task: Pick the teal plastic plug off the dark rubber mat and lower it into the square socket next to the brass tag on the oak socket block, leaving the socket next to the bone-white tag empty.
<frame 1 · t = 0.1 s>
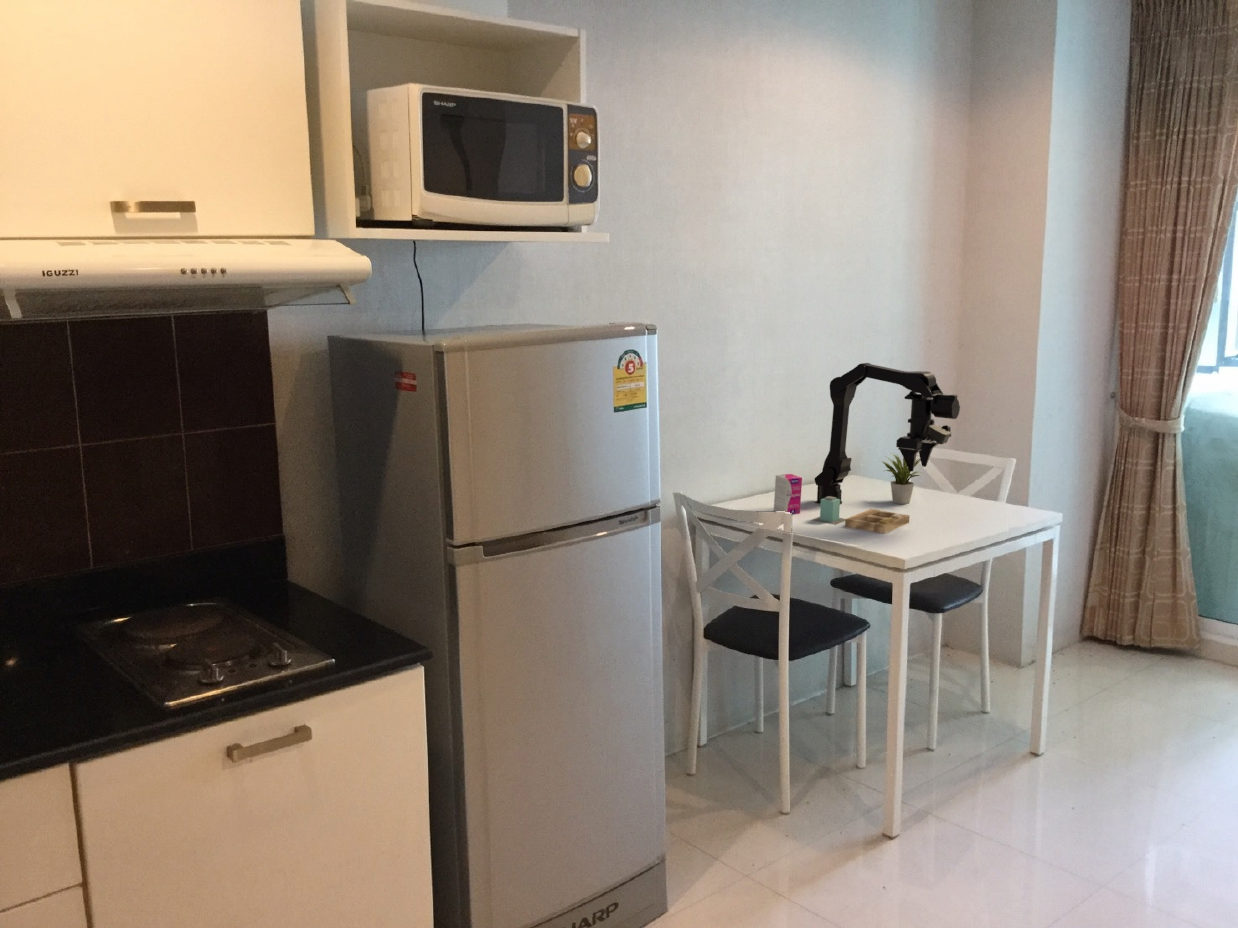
hand: (917, 468, 311), 15 cm above the table, tool pointing down, fingers open, 9 cm apart
plug: (829, 519, 309), resting on mat
house plant: (904, 502, 334), on the table
supplement box: (786, 514, 318), on the table
mat: (829, 521, 309), on the table
socket block: (877, 525, 304), on the table
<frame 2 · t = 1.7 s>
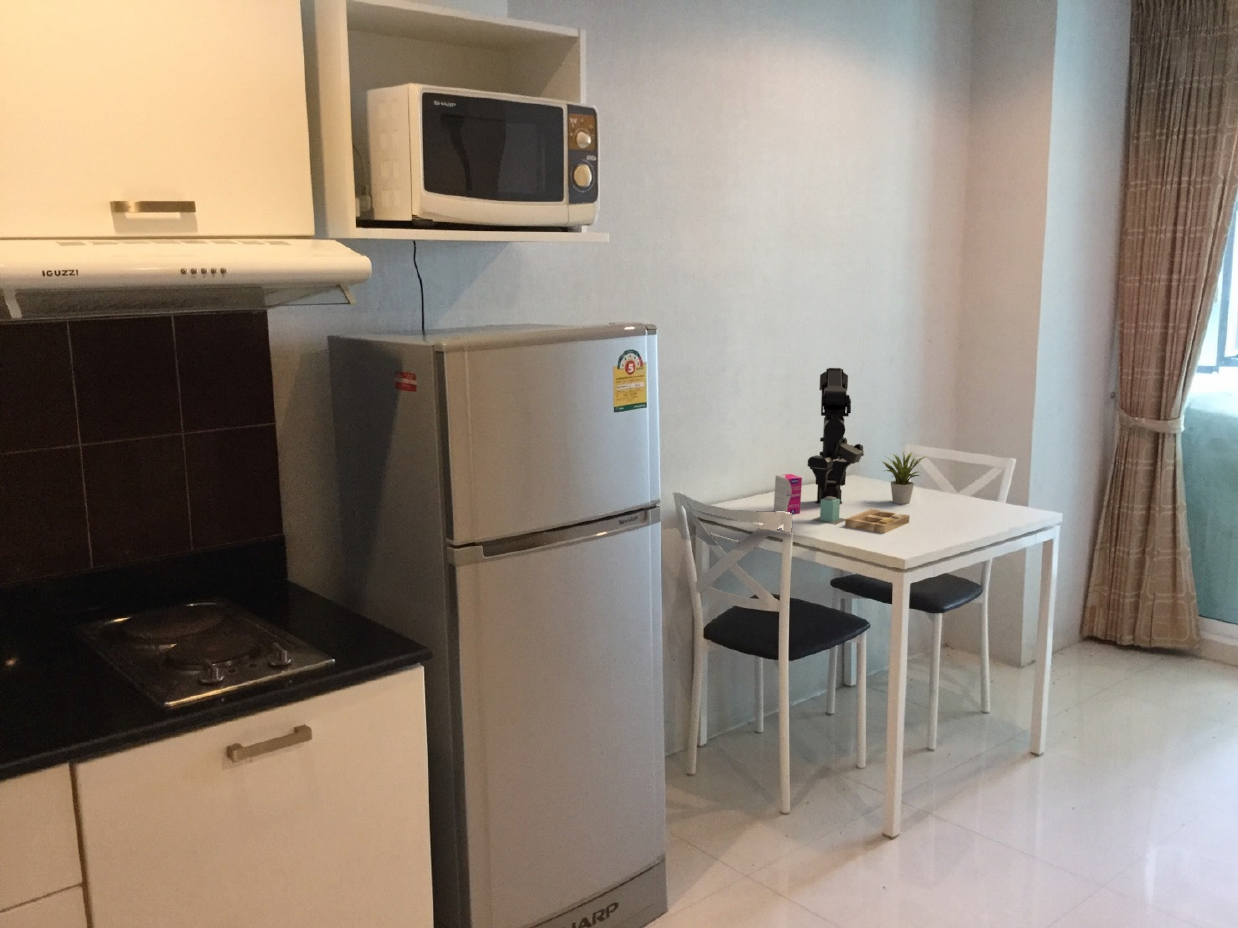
hand: (830, 488, 307), 10 cm above the table, tool pointing down, fingers open, 9 cm apart
nothing on the table moved.
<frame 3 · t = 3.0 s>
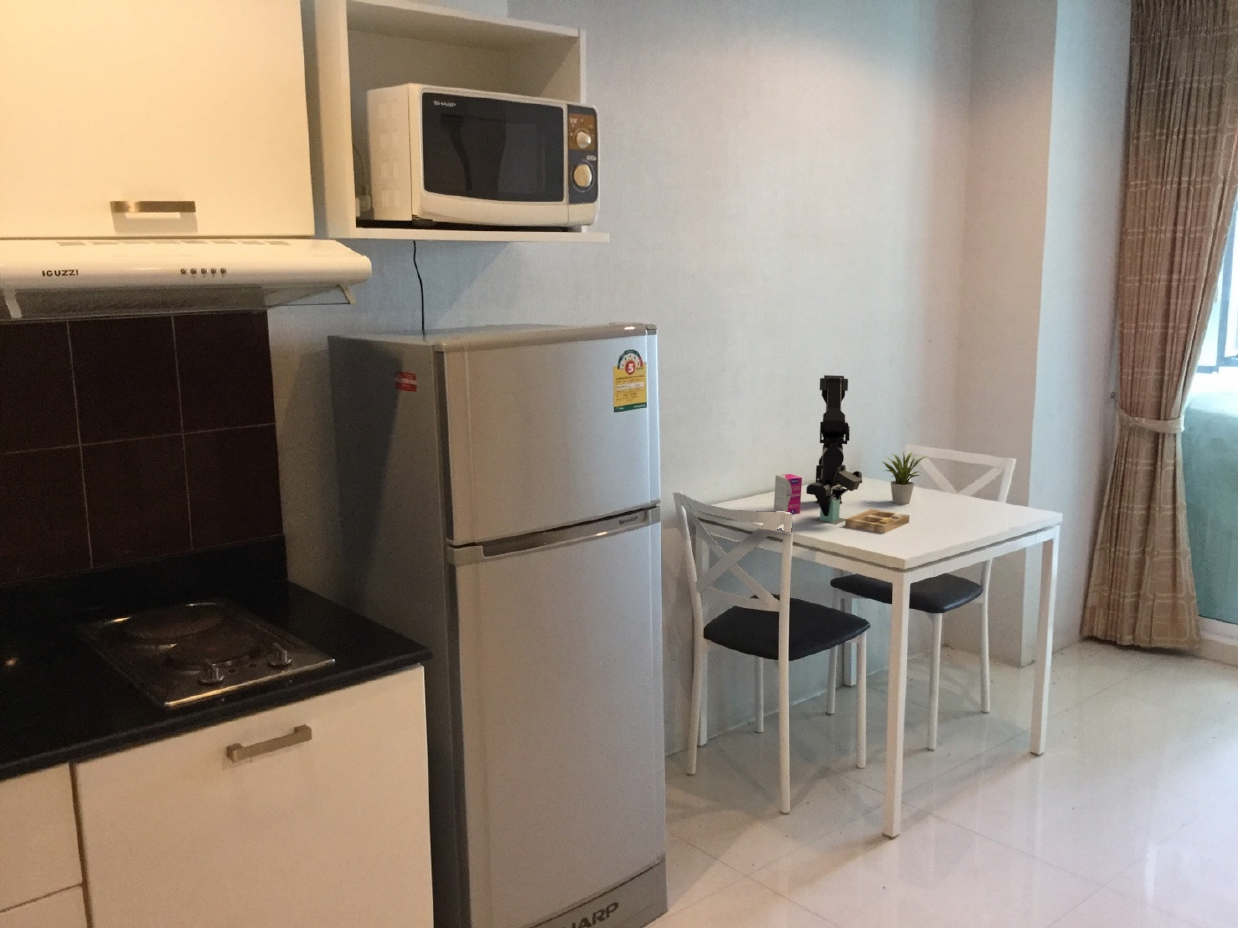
hand: (829, 514, 309), 2 cm above the table, tool pointing down, fingers closed on plug, 4 cm apart
plug: (829, 519, 309), resting on mat, touching gripper
everything else where it was.
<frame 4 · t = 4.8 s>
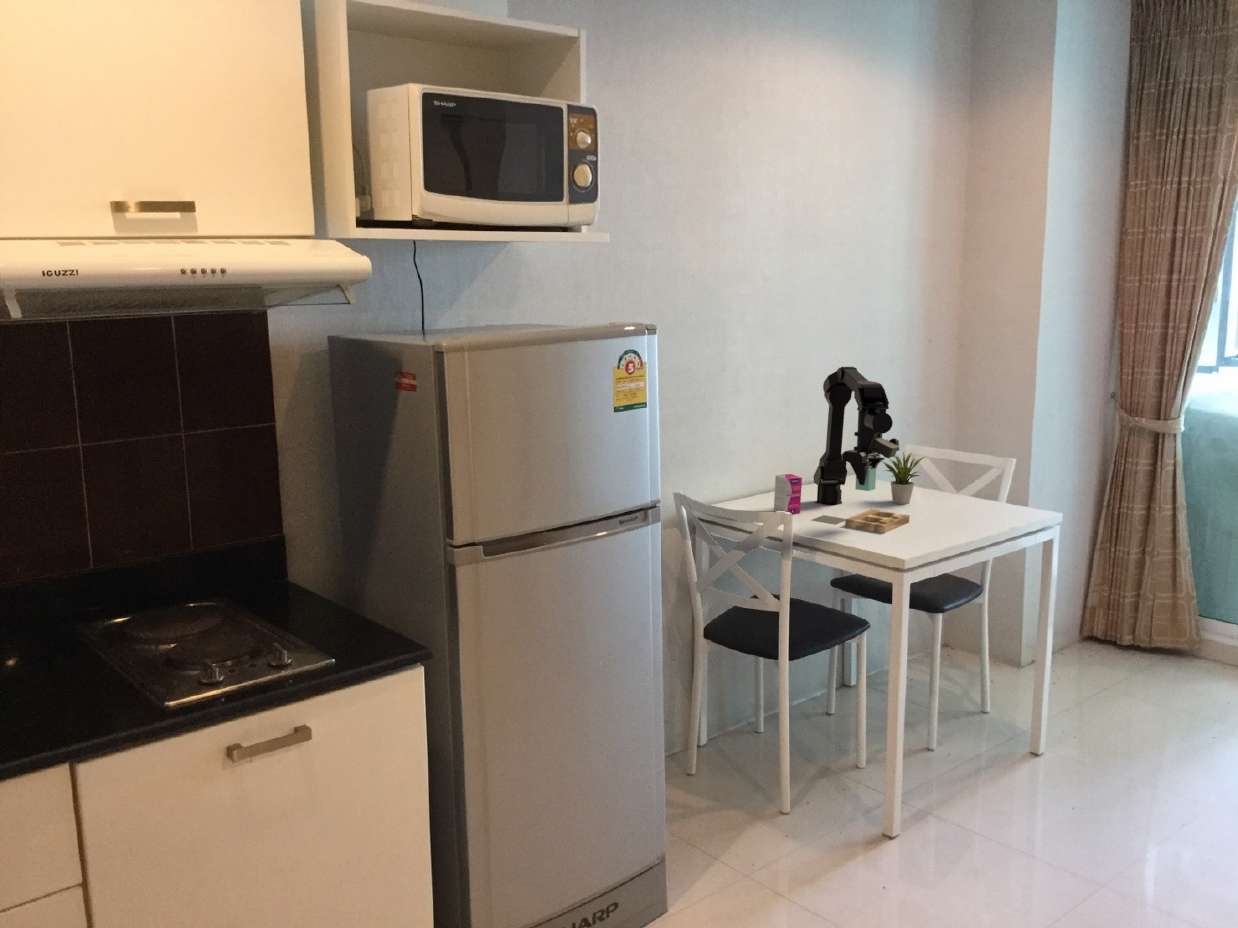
hand: (865, 483, 299), 13 cm above the table, tool pointing down, fingers closed on plug, 4 cm apart
plug: (865, 489, 300), point 11 cm above the table, touching gripper
everything else where it was.
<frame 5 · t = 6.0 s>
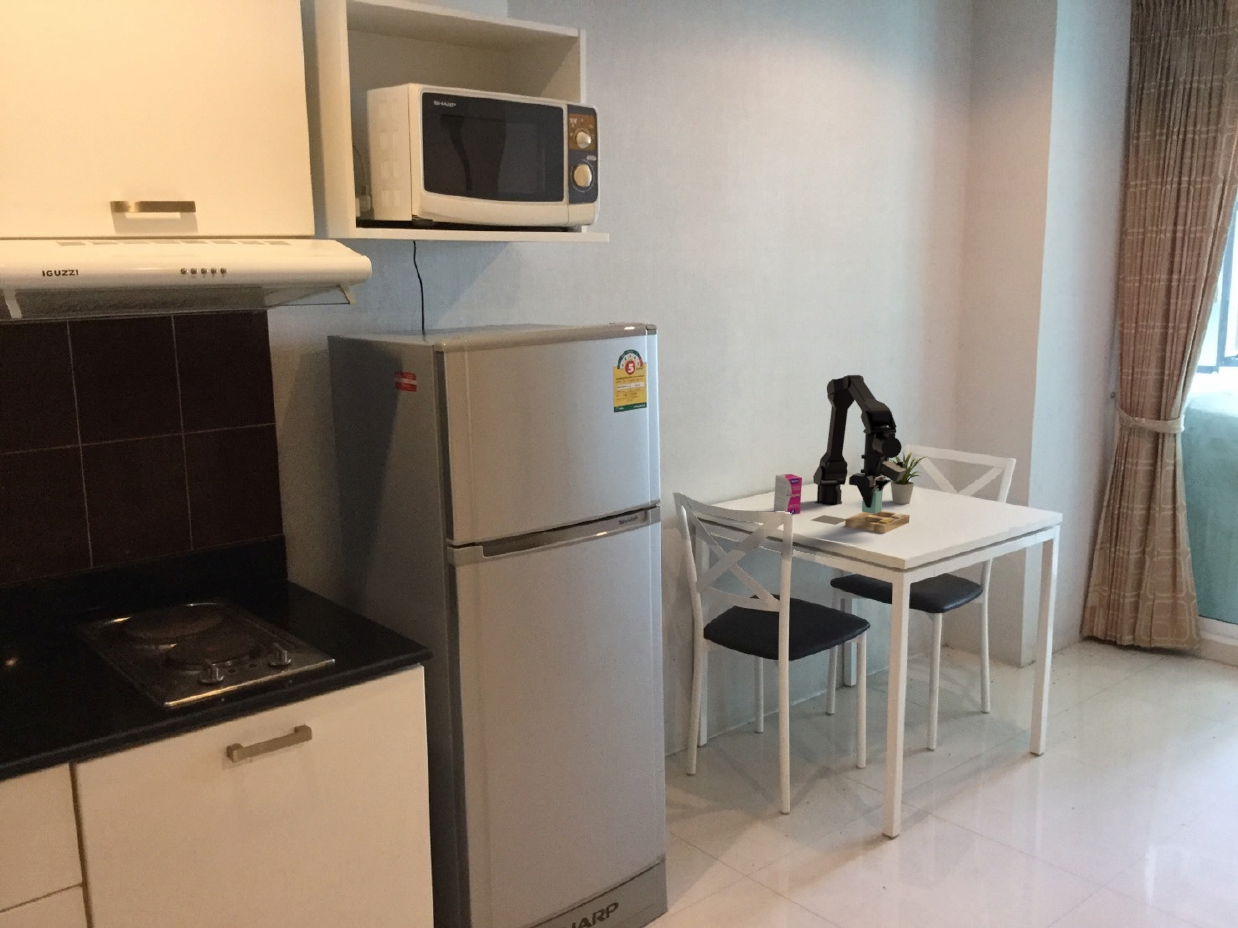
hand: (871, 506, 300), 6 cm above the table, tool pointing down, fingers closed on plug, 4 cm apart
plug: (871, 511, 300), point 5 cm above the table, touching gripper
everything else where it was.
when the fingers open (3 cm above the table, at t = 6.9 s): plug drops 2 cm, resting in socket block.
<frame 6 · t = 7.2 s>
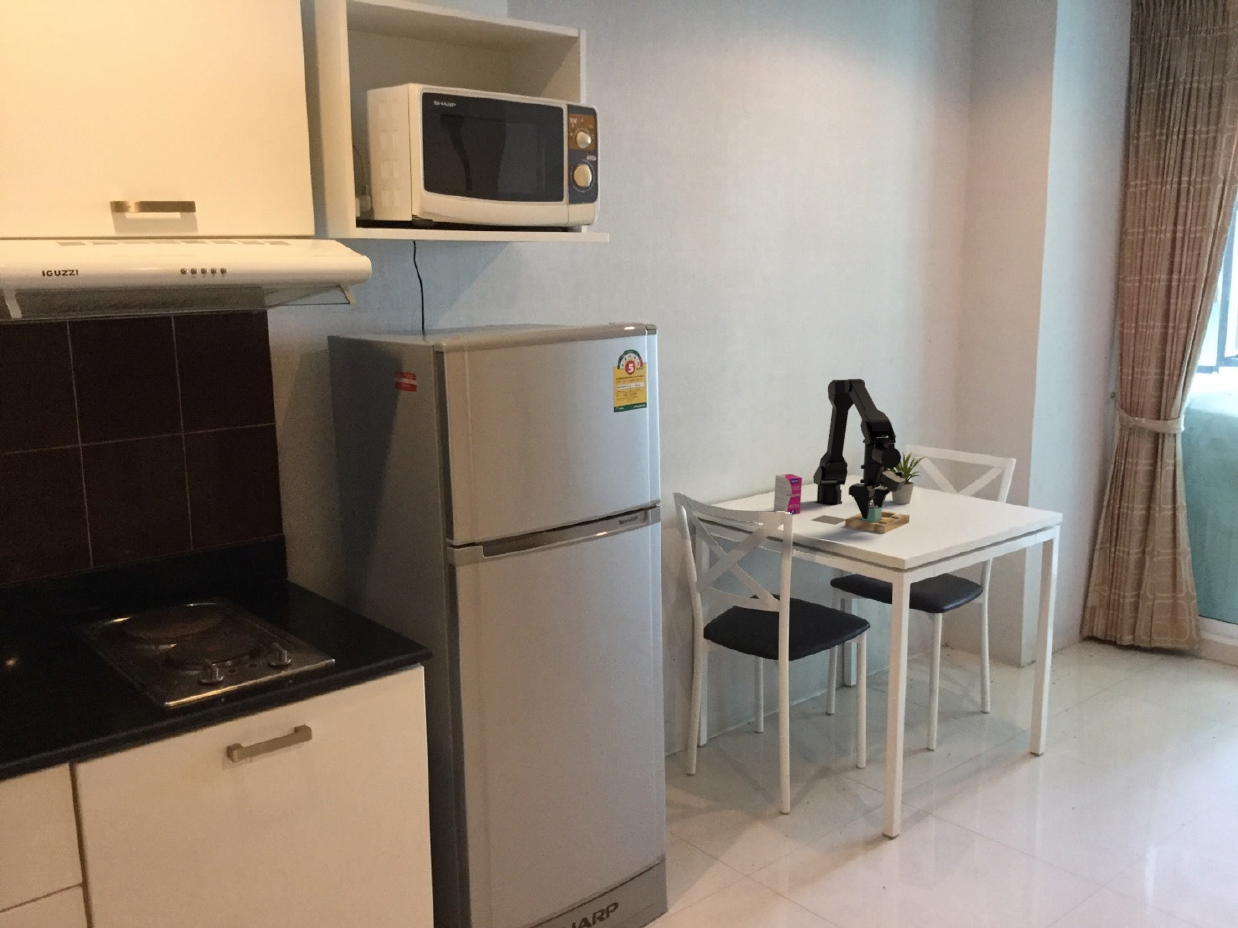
hand: (871, 516, 300), 3 cm above the table, tool pointing down, fingers open, 8 cm apart
plug: (870, 528, 301), resting in socket block
everything else where it was.
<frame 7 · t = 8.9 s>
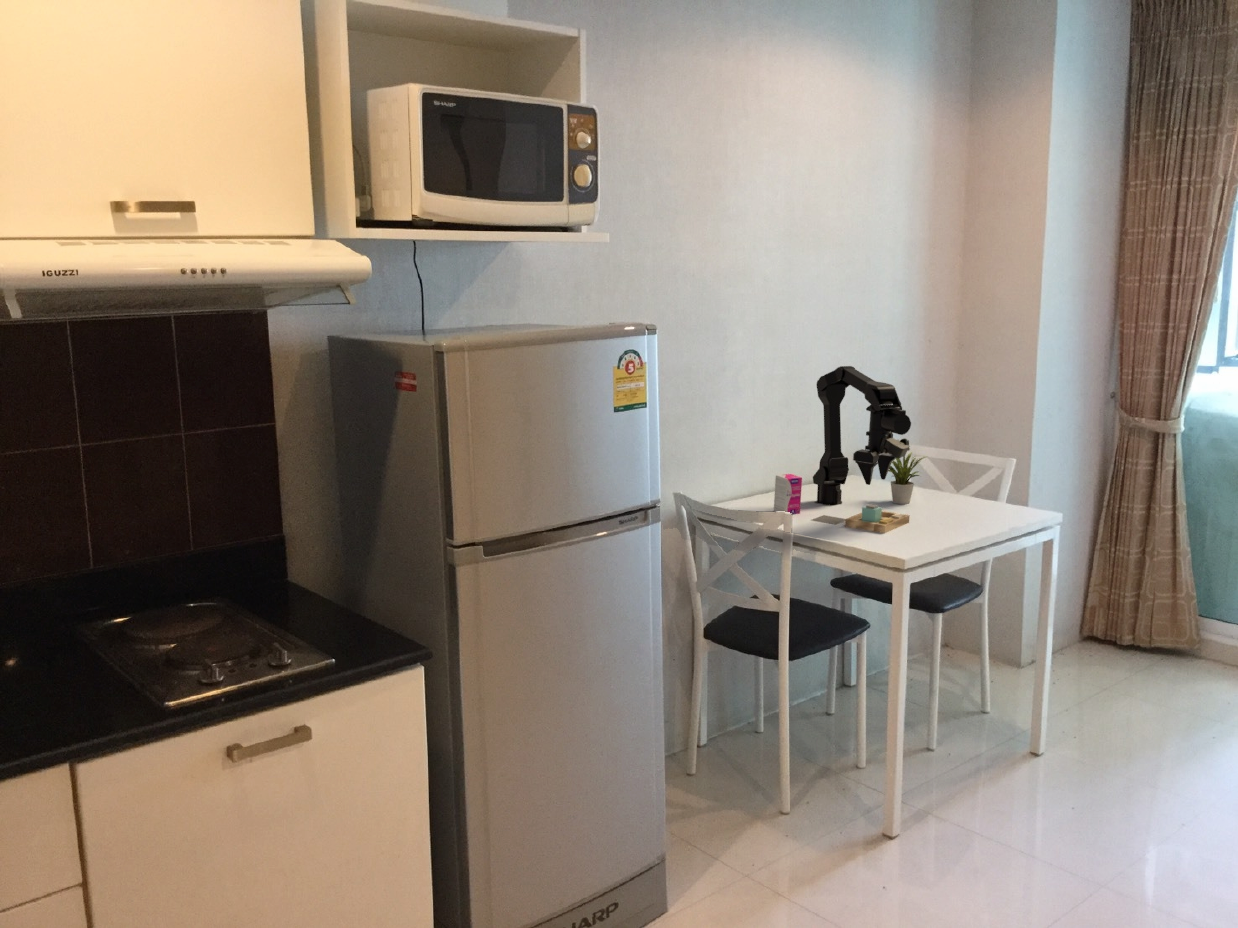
hand: (875, 481, 308), 11 cm above the table, tool pointing down, fingers open, 9 cm apart
nothing on the table moved.
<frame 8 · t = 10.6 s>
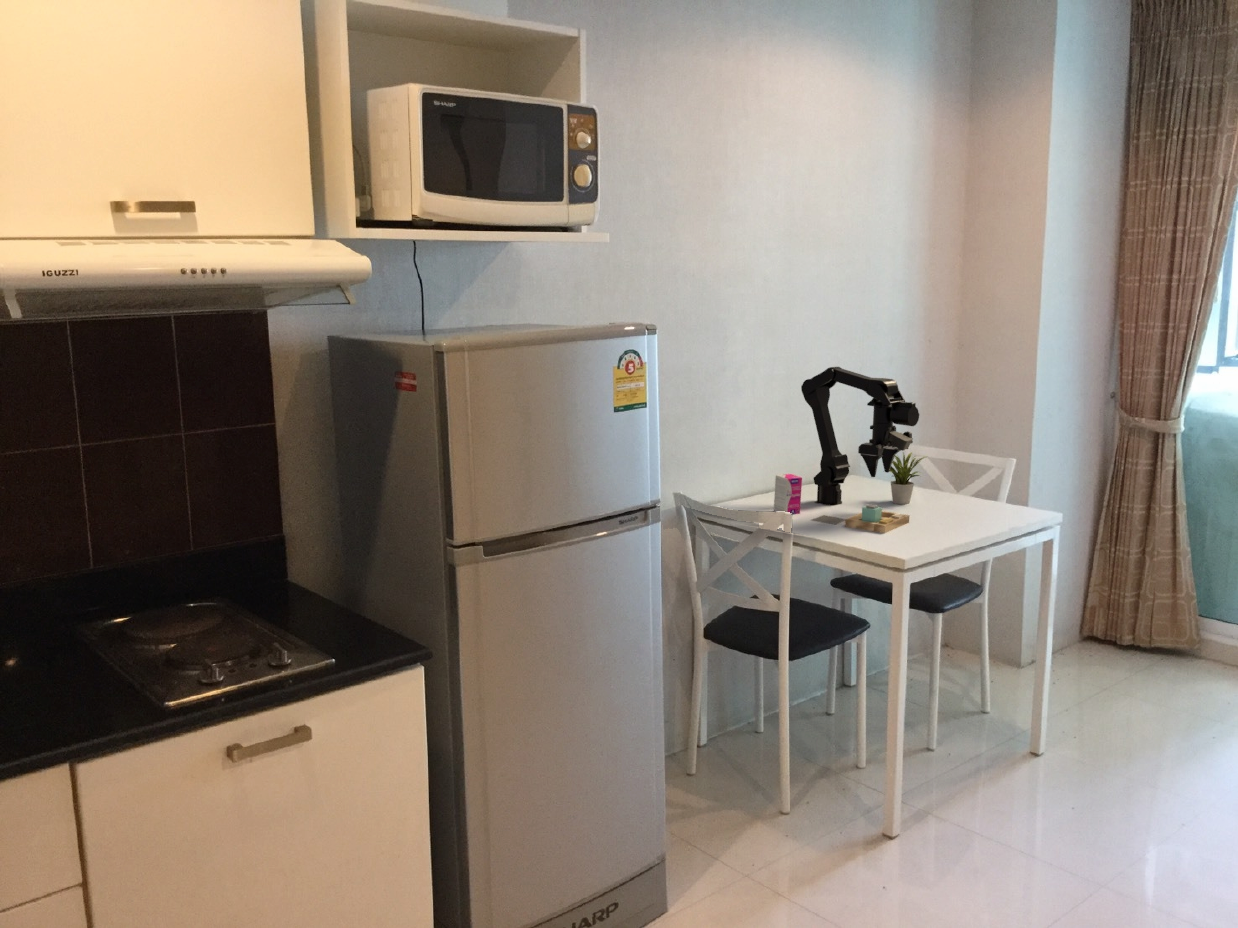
hand: (880, 474, 315), 12 cm above the table, tool pointing down, fingers open, 9 cm apart
nothing on the table moved.
at the end: plug 0.0 cm from the target spot on the socket block, point 0.0 cm above the socket block's base; plug tilted 0°; the gripper is holding nothing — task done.
